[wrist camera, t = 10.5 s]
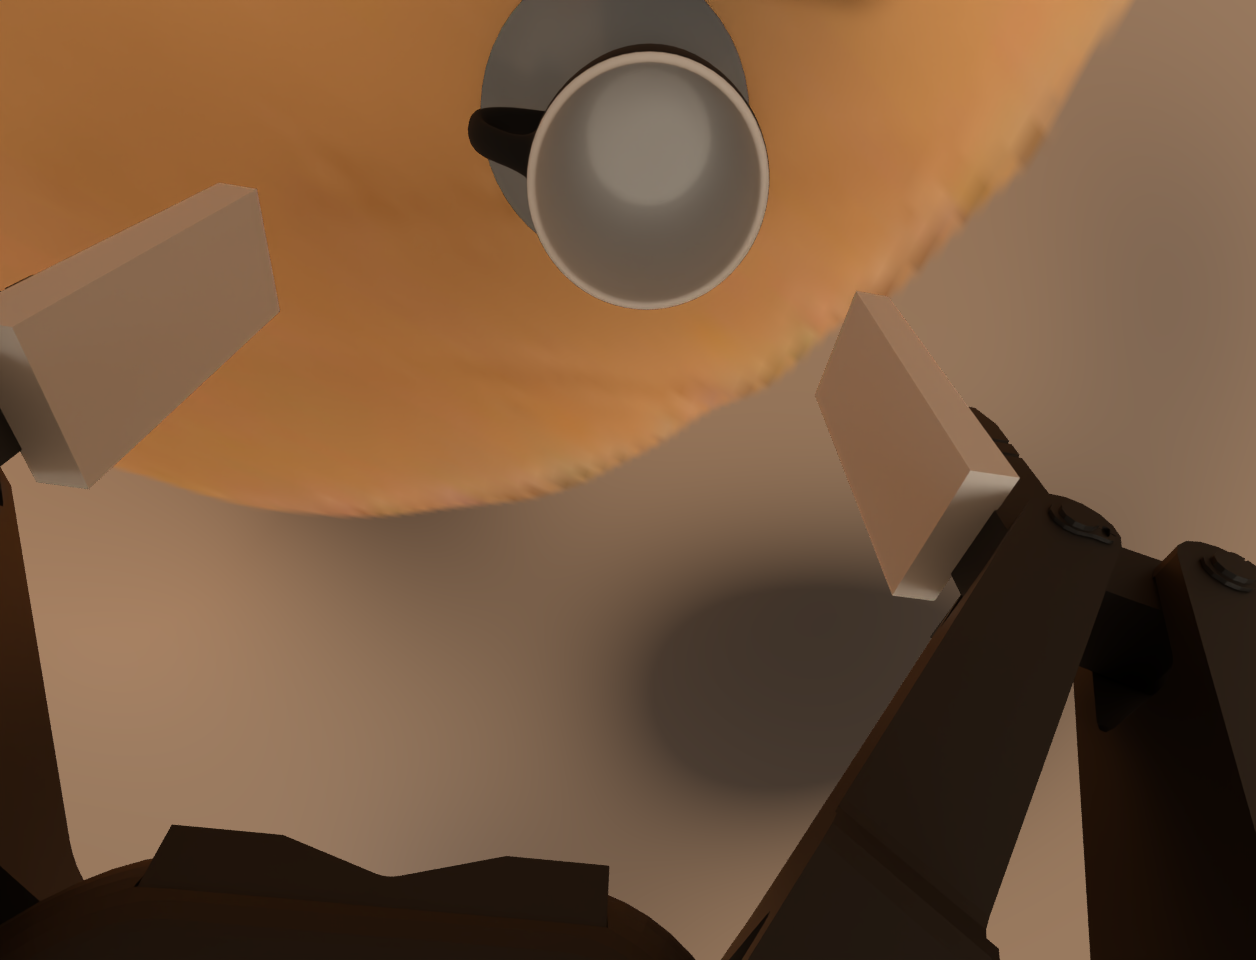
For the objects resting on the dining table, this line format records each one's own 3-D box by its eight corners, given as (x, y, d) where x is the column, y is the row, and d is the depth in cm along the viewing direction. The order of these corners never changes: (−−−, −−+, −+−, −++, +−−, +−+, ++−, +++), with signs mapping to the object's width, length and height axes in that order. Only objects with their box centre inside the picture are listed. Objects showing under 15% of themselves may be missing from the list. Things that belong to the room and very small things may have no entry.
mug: (766, 53, 29) (808, 85, 21) (711, 248, 35) (729, 330, 27) (502, -13, 28) (442, -5, 20) (489, 200, 34) (438, 272, 26)
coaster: (481, 238, 35) (479, 242, 35) (485, -68, 27) (482, -69, 27) (712, 277, 36) (713, 281, 36) (782, -8, 28) (784, -8, 28)
